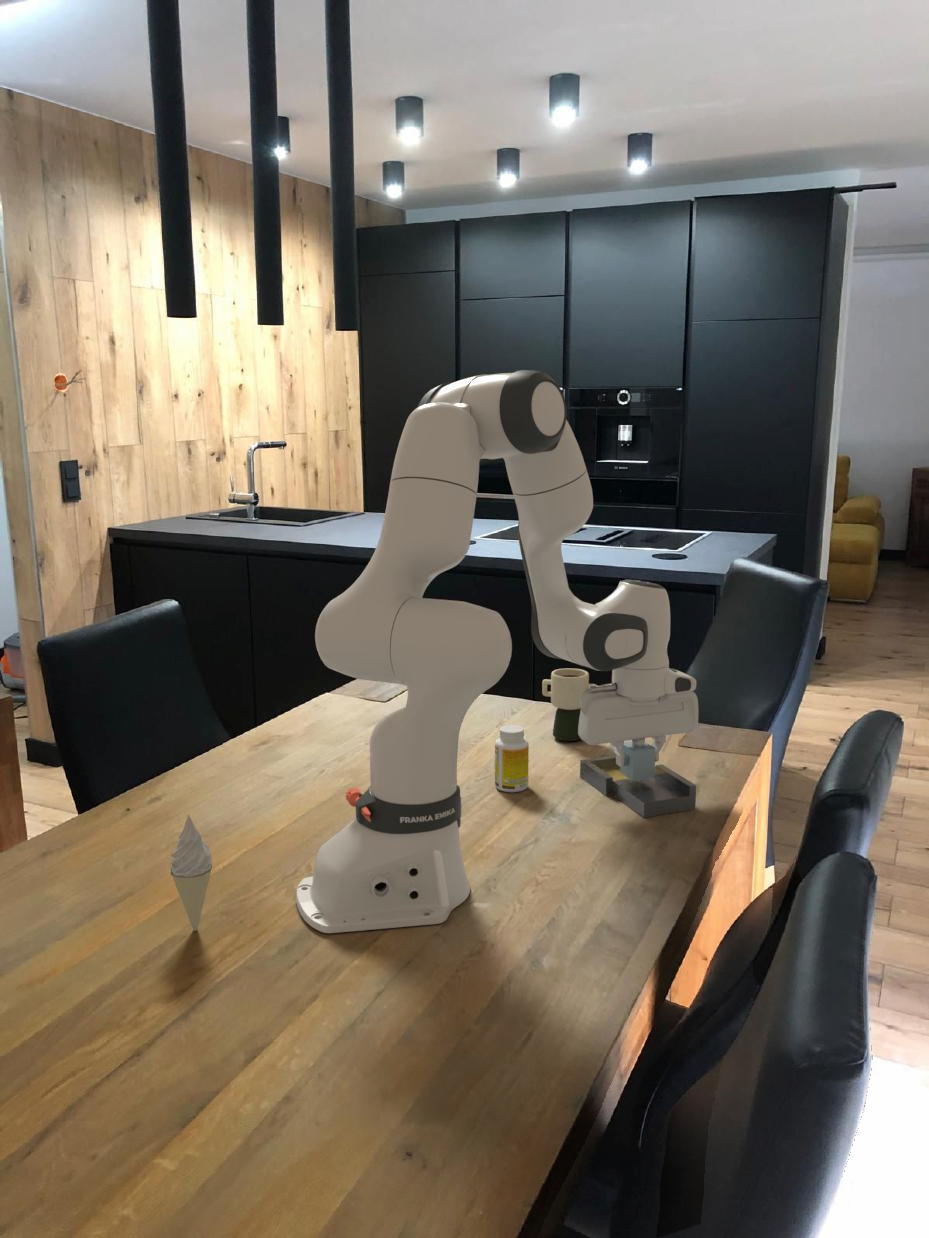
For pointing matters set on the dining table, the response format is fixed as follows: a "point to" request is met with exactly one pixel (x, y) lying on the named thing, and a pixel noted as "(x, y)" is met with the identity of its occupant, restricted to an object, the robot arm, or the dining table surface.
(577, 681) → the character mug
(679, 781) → the rail
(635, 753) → the light blue tall block
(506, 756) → the supplement bottle
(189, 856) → the ice cream cone
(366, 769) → the dining table surface
